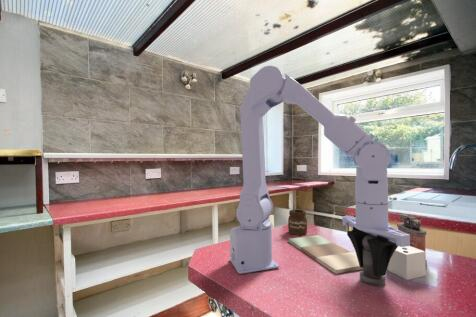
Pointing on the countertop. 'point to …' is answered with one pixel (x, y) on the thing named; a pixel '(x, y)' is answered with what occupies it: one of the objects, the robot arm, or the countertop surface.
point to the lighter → (413, 232)
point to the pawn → (369, 266)
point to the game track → (327, 253)
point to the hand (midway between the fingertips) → (372, 270)
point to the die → (408, 262)
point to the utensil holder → (297, 221)
